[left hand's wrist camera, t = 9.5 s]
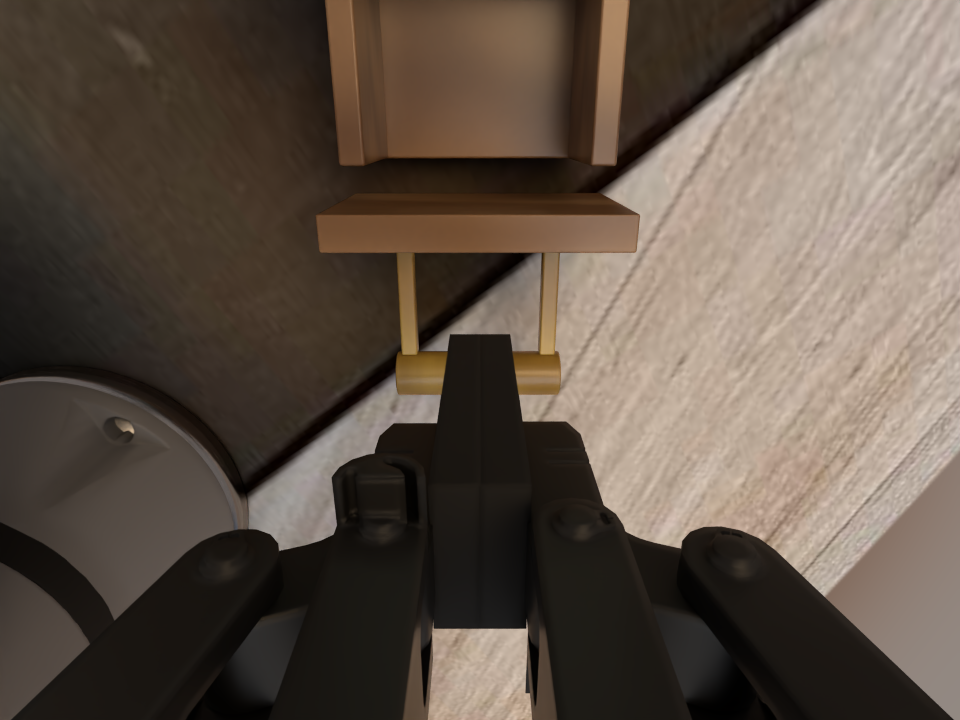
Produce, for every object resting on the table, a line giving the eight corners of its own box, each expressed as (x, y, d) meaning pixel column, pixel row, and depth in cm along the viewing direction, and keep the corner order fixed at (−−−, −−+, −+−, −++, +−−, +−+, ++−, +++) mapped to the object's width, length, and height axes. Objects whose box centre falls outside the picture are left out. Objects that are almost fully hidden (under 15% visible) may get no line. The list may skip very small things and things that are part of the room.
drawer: (588, 358, 27) (619, 424, 21) (368, 358, 27) (337, 424, 21) (639, -323, 18) (716, -540, 12) (314, -323, 18) (235, -540, 12)
